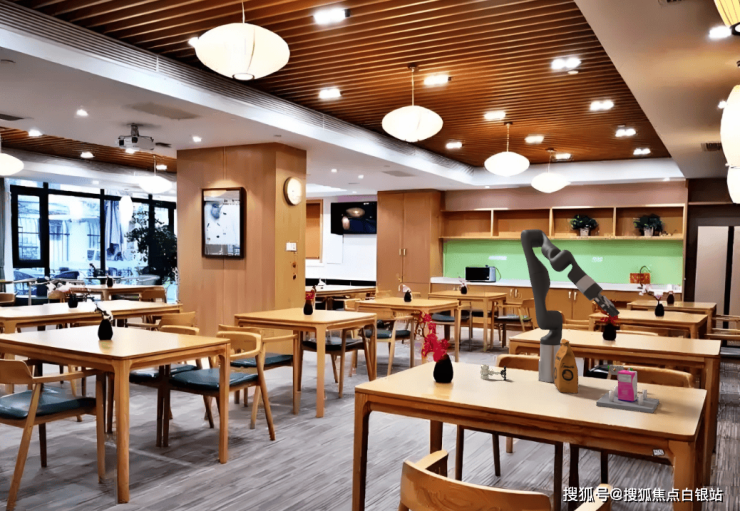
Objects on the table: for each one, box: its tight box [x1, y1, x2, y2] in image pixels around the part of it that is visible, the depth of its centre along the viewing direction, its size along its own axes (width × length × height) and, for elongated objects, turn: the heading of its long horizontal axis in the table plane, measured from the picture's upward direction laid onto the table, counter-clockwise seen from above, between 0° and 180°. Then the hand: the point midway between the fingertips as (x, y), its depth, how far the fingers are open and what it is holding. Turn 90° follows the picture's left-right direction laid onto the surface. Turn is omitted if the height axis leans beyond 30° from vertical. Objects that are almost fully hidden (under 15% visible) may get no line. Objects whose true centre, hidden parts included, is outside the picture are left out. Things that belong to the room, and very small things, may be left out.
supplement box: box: [617, 369, 638, 403], centre depth 235 cm, size 6×6×12 cm
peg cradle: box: [595, 385, 660, 414], centre depth 235 cm, size 20×20×6 cm
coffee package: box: [554, 338, 579, 394], centre depth 259 cm, size 10×12×22 cm
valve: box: [479, 364, 507, 381], centre depth 283 cm, size 7×7×12 cm
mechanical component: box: [607, 364, 634, 380], centre depth 264 cm, size 3×10×10 cm, turn 53°
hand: (616, 315), depth 254 cm, fingers open, 8 cm apart
